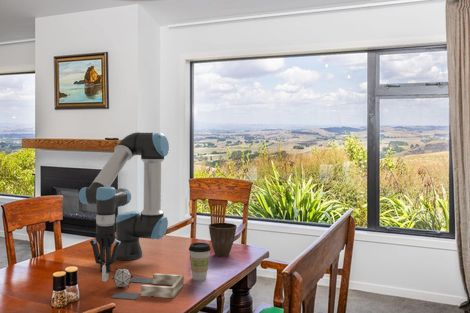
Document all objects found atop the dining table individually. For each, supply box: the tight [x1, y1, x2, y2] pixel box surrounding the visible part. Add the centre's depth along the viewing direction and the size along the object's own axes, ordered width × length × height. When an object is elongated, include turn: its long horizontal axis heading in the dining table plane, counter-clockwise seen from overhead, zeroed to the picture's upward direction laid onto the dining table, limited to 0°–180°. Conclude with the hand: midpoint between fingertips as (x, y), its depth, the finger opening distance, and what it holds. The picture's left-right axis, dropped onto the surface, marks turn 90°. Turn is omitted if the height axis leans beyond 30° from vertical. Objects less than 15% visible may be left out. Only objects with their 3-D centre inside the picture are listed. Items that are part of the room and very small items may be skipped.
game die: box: [111, 266, 134, 290], centre depth 174 cm, size 9×8×10 cm
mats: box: [110, 276, 153, 301], centre depth 173 cm, size 10×24×1 cm, turn 173°
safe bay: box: [140, 272, 185, 299], centre depth 171 cm, size 13×15×4 cm
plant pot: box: [208, 222, 238, 258], centre depth 225 cm, size 15×15×16 cm
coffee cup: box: [188, 242, 212, 281], centre depth 187 cm, size 10×10×15 cm
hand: (105, 280), depth 175 cm, fingers closed
